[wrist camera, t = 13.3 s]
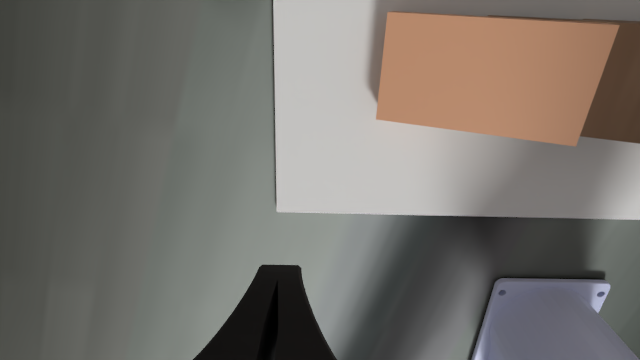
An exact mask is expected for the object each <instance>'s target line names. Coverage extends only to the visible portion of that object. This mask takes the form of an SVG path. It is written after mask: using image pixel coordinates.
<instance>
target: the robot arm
mask: <svg viewBox="0 0 640 360" xmlns="http://www.w3.org/2000/svg"><path fill="white" fill-rule="evenodd" d="M501 290H502V291H501ZM609 290H610V284H609V283H608V282H607V281H606V280H590V279H526V278H501V279H498V280H497V281H496V282H495V284H494V288H493V291H492V294H491V298H490V301H489V304H488V307H487V311H486V314H485V317H484V320H483V324H482V327H481V330H480V333H479V337H478V340H477V343H476V346H475V350H474V353H473V356H472V360H639V359H638V357H637V356H636V355H635V354H634V353H633V352H632V351H631V350H630V349H629V347H628V346H627V345H626V344H625V343H624V342H623V341H622V340H621V338H620V337H619V336H618V335H617V334H616V333H615V332H614V331H613V329H612V328H611V327H610V326H609V325H608V324H607V323H606V322H605V320H604V319H603V318H602V317H601V316H600V315H599V314H598V312H599V310H600V308H601V306H602V304H603V302H604V300H605V298H606V296H607V294H608V292H609ZM499 291H500V292H499ZM193 360H337V359H336V358H335V356H334V354H333V353H332V351H331V349H330V347H329V346H328V344H327V342H326V340H325V338H324V336H323V334H322V332H321V330H320V328H319V326H318V323H317V321H316V319H315V317H314V314H313V312H312V309H311V306H310V304H309V301H308V298H307V295H306V292H305V288H304V285H303V280H302V274H301V268H300V267H299V266H298V265H262V266H260V267H259V269H258V271H257V273H256V275H255V277H254V279H253V281H252V283H251V285H250V286H249V288H248V290H247V291H246V293H245V295H244V296H243V298H242V299H241V301H240V302H239V304H238V305H237V307H236V308H235V310H234V311H233V313H232V314H231V315H230V317H229V318H228V319H227V321H226V322H225V323H224V325H223V326H222V327H221V329H220V330H219V331H218V332H217V334H216V335H215V336H214V337H213V338H212V340H211V341H210V342H209V343H208V344H207V345H206V346H205V348H204V349H203V350H202V351H201V352H200V353H199V354H198V355H197V356H196V357H195V358H194V359H193Z"/></svg>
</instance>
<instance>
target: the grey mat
mask: <svg viewBox="0 0 640 360" xmlns="http://www.w3.org/2000/svg"><path fill="white" fill-rule="evenodd" d="M391 11H401V12H419V13H437V14H454V15H472V16H488V15H501V16H521V17H541V18H561V19H581V20H583V19H603V20H623V21H640V0H273V14H274V75H275V136H276V196H277V212H296V213H343V214H391V215H438V216H485V217H533V218H580V219H628V220H640V144H638V143H630V142H622V141H614V140H606V139H598V138H590V137H582V136H580V137H579V139H578V142H577V145H576V147H575V146H568V145H561V144H553V143H546V142H539V141H531V140H524V139H516V138H509V137H502V136H494V135H487V134H480V133H472V132H465V131H457V130H450V129H443V128H435V127H428V126H421V125H413V124H406V123H398V122H391V121H384V120H376V113H377V104H378V95H379V86H380V77H381V68H382V58H383V49H384V40H385V31H386V22H387V13H388V12H391Z"/></svg>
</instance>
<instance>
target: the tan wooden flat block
mask: <svg viewBox="0 0 640 360" xmlns="http://www.w3.org/2000/svg"><path fill="white" fill-rule="evenodd" d="M619 26H620V25H615V24H609V23H597V22H579V21H561V20H544V19H526V18H508V17H490V16H472V15H454V14H437V13H419V12H401V11H391V12H388V13H387V22H386V31H385V40H384V49H383V58H382V68H381V77H380V86H379V95H378V104H377V113H376V120H384V121H391V122H398V123H406V124H413V125H421V126H428V127H435V128H443V129H450V130H457V131H465V132H472V133H480V134H487V135H494V136H502V137H509V138H516V139H524V140H531V141H539V142H546V143H553V144H561V145H568V146H575V147H576V145H577V142H578V139H579V137H580V134H581V131H582V128H583V126H584V123H585V120H586V117H587V114H588V112H589V109H590V106H591V103H592V101H593V98H594V95H595V92H596V89H597V87H598V84H599V81H600V78H601V76H602V73H603V70H604V67H605V65H606V62H607V59H608V56H609V53H610V51H611V48H612V45H613V42H614V40H615V37H616V34H617V31H618V28H619Z"/></svg>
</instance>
